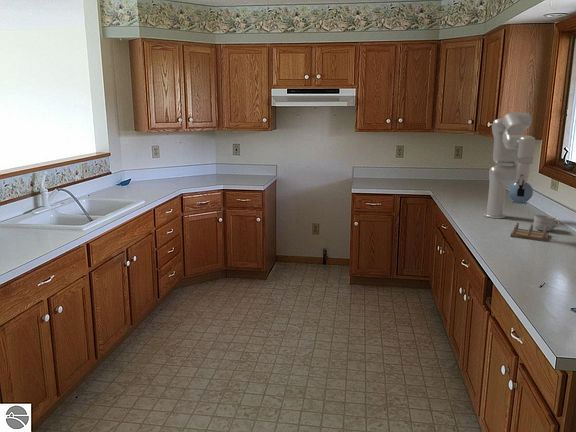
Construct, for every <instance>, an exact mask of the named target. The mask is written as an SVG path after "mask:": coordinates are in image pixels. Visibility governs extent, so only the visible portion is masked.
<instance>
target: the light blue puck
mask: <svg viewBox="0 0 576 432" xmlns="http://www.w3.org/2000/svg"><path fill="white" fill-rule="evenodd" d="M522 183H524V182H522ZM518 185H519V181H518V182H517V183H516V182H515V183H514V184H512V185H511V186H510V188H509V191H508V194H509V197H510V199H511V200H512V204H519V205H526V206H527V205H528V202H529V200H530V199H531V198H532V197H533V194H534V189H533V186H532V185H531V184H530V183H529V182H528V181H527V182H526V183H525V185H524V189H525V190H524V196H523V197H521V196H517V191H518Z"/></svg>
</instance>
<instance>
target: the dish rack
mask: <svg viewBox="0 0 576 432" xmlns="http://www.w3.org/2000/svg"><path fill="white" fill-rule="evenodd" d="M519 225H520V223H519V222H516V224H515V225H514V226H513V229H512V231H511V233H510V238H517V239H523V240H524V239H525V240H531V241H539V242H547V241H548V238H549V236H550V235H549V234H550V231H547V228H548V226H545V228H544V231H541V230H534V229H533V228H534V224H530V226H529V228H528V229H526V228H525V229H524V228H519Z"/></svg>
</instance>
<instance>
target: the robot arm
mask: <svg viewBox="0 0 576 432" xmlns="http://www.w3.org/2000/svg"><path fill="white" fill-rule="evenodd" d="M532 119H533V118H532V115H530V113H528V112H508V113H506V114H505V115H504V116H503V117H502V118H496V119H494V120H493V122H492V125H491V131H492V132H491V133H492V135H493V152H492V160H493V162H494V163H496V164H509V165H493V166H491V167H490V168H489V171H488V176H489V181H488V182H489V186H488V194H487V195H488V196H487V205H486V206H487V207H486V212H484V213H483V217H486V218H491V219H505V218H506V217H507V216H506V214H504V210H505V199H506V192H507V191H506V190H507V189H506V186H505V184H504V183H503V182H506V183H507V182H510V183H511V182H512V183H513V182H515V183H517V182H519V185H518V191H517V196H521V197H523V196H524V190H525V189H524V185H525V183H526V182H527V183H528V181H529V177H530V169H531V168H530V166H531V165H533V164H534V156H535V146H536V137H533V136H531V135H522V134H523V133H524V132H525V131H526V130H527V129H529V128H530V126H531V124H532V121H533V120H532ZM510 164H511V165H510ZM522 182H524V183H522Z"/></svg>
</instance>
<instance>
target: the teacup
mask: <svg viewBox="0 0 576 432" xmlns="http://www.w3.org/2000/svg"><path fill="white" fill-rule="evenodd" d="M556 222H557V224H556ZM560 225H561V220H560V219H558V218H557V217H556V216H552V215H546V214H534V218H533V228H535V229H536V231H542V232H543V231H544V228H545V226H548V228H547V232H550V231H552V230H554V229H556V228H558V227H560Z"/></svg>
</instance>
